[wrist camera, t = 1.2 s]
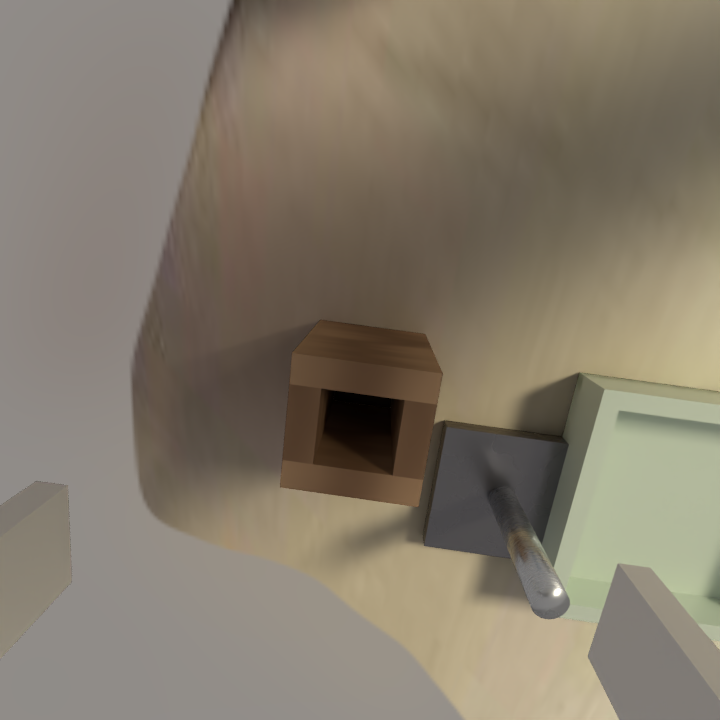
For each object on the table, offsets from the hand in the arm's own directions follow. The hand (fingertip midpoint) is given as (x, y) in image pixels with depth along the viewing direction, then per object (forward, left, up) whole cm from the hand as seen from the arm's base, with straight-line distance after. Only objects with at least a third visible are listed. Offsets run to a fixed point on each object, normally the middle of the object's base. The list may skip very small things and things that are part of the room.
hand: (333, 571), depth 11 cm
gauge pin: (-9, +6, -16) cm, 19 cm away
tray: (-19, +5, -16) cm, 25 cm away
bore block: (0, 0, -16) cm, 16 cm away
